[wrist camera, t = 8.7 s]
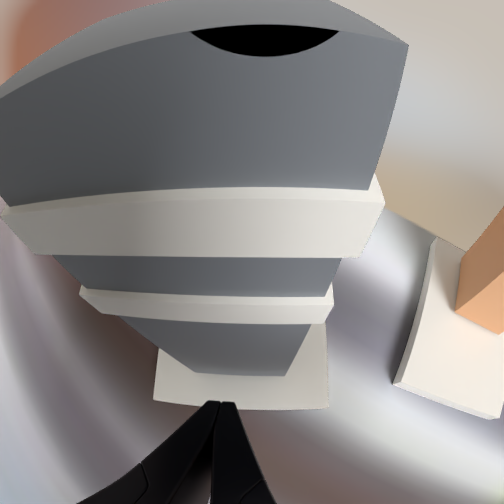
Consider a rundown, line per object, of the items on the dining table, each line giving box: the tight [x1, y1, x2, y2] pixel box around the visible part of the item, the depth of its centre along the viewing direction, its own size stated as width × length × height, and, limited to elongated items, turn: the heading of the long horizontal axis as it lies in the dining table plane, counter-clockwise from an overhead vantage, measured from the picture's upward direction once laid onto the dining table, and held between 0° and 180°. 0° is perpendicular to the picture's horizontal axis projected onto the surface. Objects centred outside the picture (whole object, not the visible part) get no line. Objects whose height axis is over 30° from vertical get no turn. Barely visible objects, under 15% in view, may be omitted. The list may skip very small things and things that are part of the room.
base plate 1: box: [153, 321, 328, 410], centre depth 16 cm, size 11×9×1 cm
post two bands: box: [0, 0, 409, 376], centre depth 9 cm, size 5×5×14 cm
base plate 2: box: [392, 237, 504, 420], centre depth 14 cm, size 11×9×1 cm
